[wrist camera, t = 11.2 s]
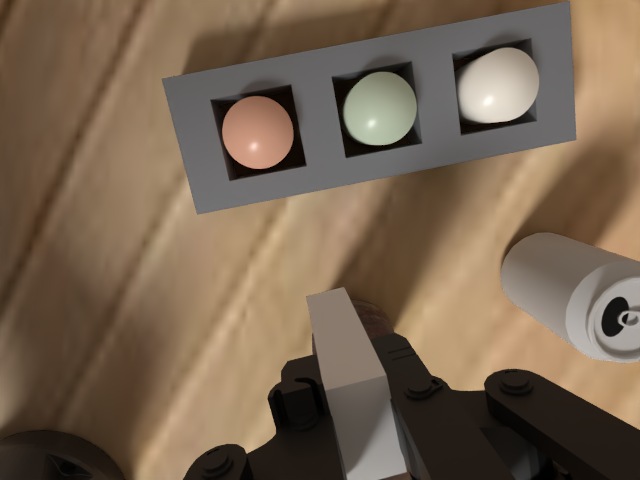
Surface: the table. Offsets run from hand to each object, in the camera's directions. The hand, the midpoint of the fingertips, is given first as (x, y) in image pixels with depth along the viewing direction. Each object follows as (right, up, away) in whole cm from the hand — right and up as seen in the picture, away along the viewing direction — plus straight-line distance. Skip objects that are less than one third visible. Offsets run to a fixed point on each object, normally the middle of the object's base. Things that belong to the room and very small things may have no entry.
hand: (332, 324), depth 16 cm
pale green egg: (+4, +14, +19) cm, 24 cm away
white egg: (+12, +15, +19) cm, 27 cm away
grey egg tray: (+4, +14, +19) cm, 24 cm away
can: (+20, +1, +23) cm, 30 cm away
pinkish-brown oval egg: (-5, +12, +19) cm, 23 cm away
